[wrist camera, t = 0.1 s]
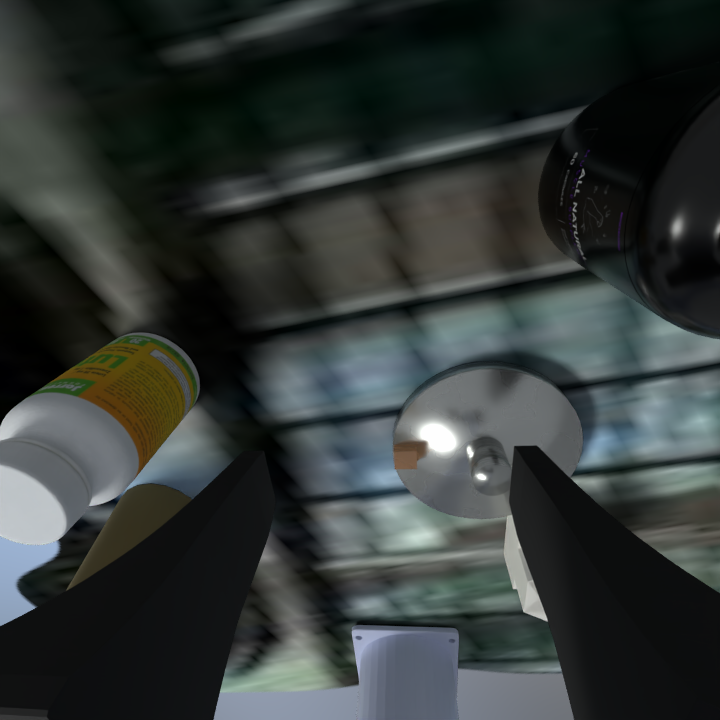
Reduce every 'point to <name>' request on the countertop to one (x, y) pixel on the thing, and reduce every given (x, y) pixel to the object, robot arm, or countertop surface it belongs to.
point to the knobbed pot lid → (480, 435)
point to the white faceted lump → (521, 573)
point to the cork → (131, 525)
